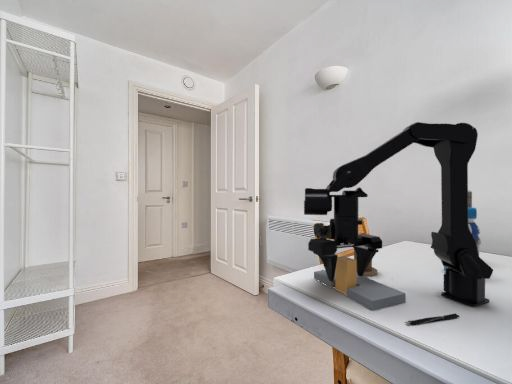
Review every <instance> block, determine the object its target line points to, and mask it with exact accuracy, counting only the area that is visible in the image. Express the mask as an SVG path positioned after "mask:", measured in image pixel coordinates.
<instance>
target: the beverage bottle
mask: <svg viewBox="0 0 512 384" xmlns="http://www.w3.org/2000/svg"><path fill="white" fill-rule="evenodd" d="M477 215H478V214H477V208H476V207H473V206H472V207H468V227H469V230H470V231H471V233H472V235H473V237H474V239H475V240H476V243H477V248H478V253H479V254H480V246H481V243H482V241H481V238H480V236H479V235H480V234H481V231H480V228H479V226H478V225H477V222H475V220H476V219H477ZM446 268H448V267H445V266H443V272H444V274H446Z"/></svg>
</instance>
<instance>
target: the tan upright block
mask: <svg viewBox="0 0 512 384" xmlns="http://www.w3.org/2000/svg"><path fill="white" fill-rule="evenodd" d="M355 286H356V260H354V258H351V257H348V256H346V255H345V256H344V255H343V256H338V258H337V264H336V270H335V288H336V289H337V291H338V290H339V291H338V292H340V291H341V293H342V292H343V293H342V294H344V293H345V295H346V296H347V288H350V287H355ZM336 289H335V290H336Z"/></svg>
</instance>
